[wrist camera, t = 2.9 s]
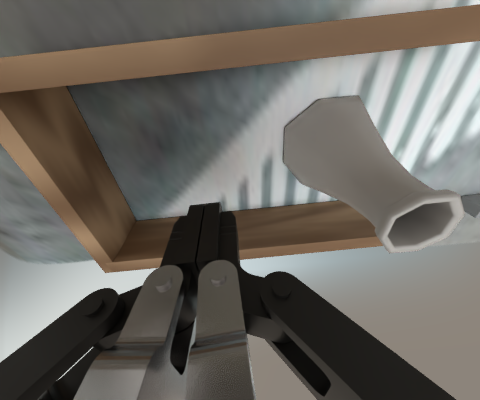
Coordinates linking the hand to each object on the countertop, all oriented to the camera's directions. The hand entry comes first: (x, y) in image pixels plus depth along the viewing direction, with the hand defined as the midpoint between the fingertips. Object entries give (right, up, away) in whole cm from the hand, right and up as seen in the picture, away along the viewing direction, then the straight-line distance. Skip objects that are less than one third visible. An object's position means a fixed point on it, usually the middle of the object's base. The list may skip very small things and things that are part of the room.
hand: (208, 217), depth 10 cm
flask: (+9, +6, +6) cm, 12 cm away
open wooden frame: (+3, +5, +6) cm, 8 cm away
